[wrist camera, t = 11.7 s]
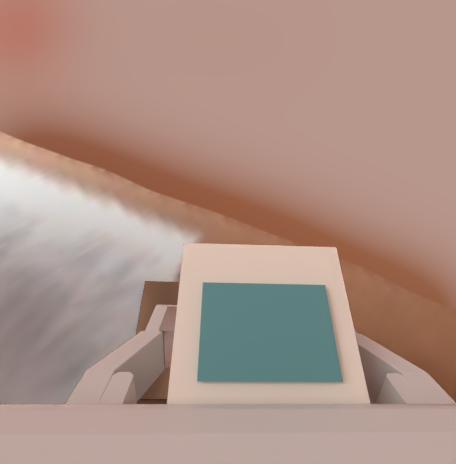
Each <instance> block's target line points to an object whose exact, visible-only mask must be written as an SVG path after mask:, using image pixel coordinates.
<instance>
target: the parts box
mask: <svg viewBox="0 0 456 464" xmlns="http://www.w3.org/2000/svg"><path fill="white" fill-rule="evenodd" d="M167 404H370V399H369V395H368V390H367V386H366V381H365V377H364V372H363V367H362V363H361V358H360V354H359V349H358V345H357V340H356V336H355V331H354V326H353V322H352V317H351V313H350V308H349V304H348V299H347V295H346V290H345V285H344V281H343V276H342V272H341V267H340V263H339V258H338V254H337V249H336V247H309V246H308V247H307V246H274V245H239V244H204V243H184V245H183V255H182V264H181V274H180V283H179V293H178V302H177V312H176V321H175V331H174V340H173V350H172V359H171V369H170V378H169V388H168V397H167Z"/></svg>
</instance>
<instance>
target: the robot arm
mask: <svg viewBox="0 0 456 464" xmlns="http://www.w3.org/2000/svg"><path fill="white" fill-rule="evenodd" d="M176 312H177V305H157V306H156V307H155V309H154V311H153V313H152V316H151V318H150V320H149V323H148V325H147V327H146V329H145V331H141V332H139V333H138V334H137V335H135V336H134V337H132V338H131V339H130V340H128V341H127V342H125V343H124V344H123V345H121V346H120V347H118V348H117V349H116V350H114V351H113V352H111V353H110V354H109V355H107V356H106V357H104V358H103V359H102V360H100V361H99V362H97V363H96V364H95V365H93V366H92V367H90V368H89V369H88V370H86V372H85V373H84V375H83V376H82V378H81V380H80V381H79V383H78V384H77V386H76V388H75V389H74V391H73V392H72V394H71V395H70V397H69V399H68V400H67V402H66V403H65V404H0V464H456V402H455V401H454V400H453V399H452V398H451V397H450V396H449V395H448V394H447V393H446V392H445V391H444V390H443V389H442V388H441V387H440V386H439V385H438V383H437V382H436V381H435V380H434V379H433V378H432V377H431V376H430V375H429V374H428V373H427V372H425V371H424V370H422V369H420V368H419V367H417V366H415V365H413V364H412V363H410V362H408V361H407V360H405V359H403V358H402V357H400V356H398V355H397V354H395V353H393V352H391V351H390V350H388V349H386V348H385V347H383V346H381V345H380V344H378V343H376V342H375V341H373V340H371V339H369V338H368V337H366V336H364V335H363V334H358V333H357V332H356V331H355V329H354V331H355V336H356V340H357V345H358V349H359V354H360V358H361V363H362V367H363V372H364V377H365V381H366V386H367V390H368V395H369V399H370V404H137V401H138V400H139V399H140V398H141V397H142V395H143V394H144V393H145V392H146V391H147V390H148V388H149V387H150V386H151V385H152V384H153V382H154V381H155V380H156V379H157V378H158V377H159V375H160V374H161V373H162V372H163V371H164V369H165V368H171V359H172V350H173V340H174V331H175V321H176Z"/></svg>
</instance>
